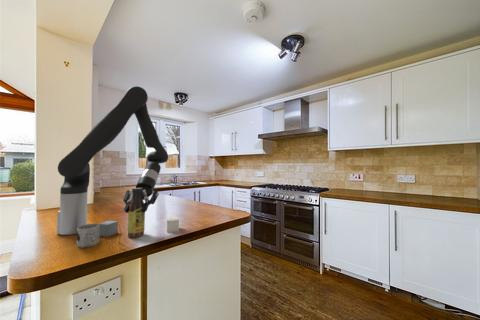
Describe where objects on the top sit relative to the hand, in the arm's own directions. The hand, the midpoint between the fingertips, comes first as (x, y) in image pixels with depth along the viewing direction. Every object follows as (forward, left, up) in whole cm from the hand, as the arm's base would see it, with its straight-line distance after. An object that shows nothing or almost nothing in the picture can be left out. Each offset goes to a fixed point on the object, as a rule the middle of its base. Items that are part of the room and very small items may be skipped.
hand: (134, 211), depth 81 cm
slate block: (-13, +4, -10) cm, 17 cm away
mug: (-13, -8, -11) cm, 19 cm away
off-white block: (+13, +9, -10) cm, 19 cm away
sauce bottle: (0, +2, -11) cm, 11 cm away
